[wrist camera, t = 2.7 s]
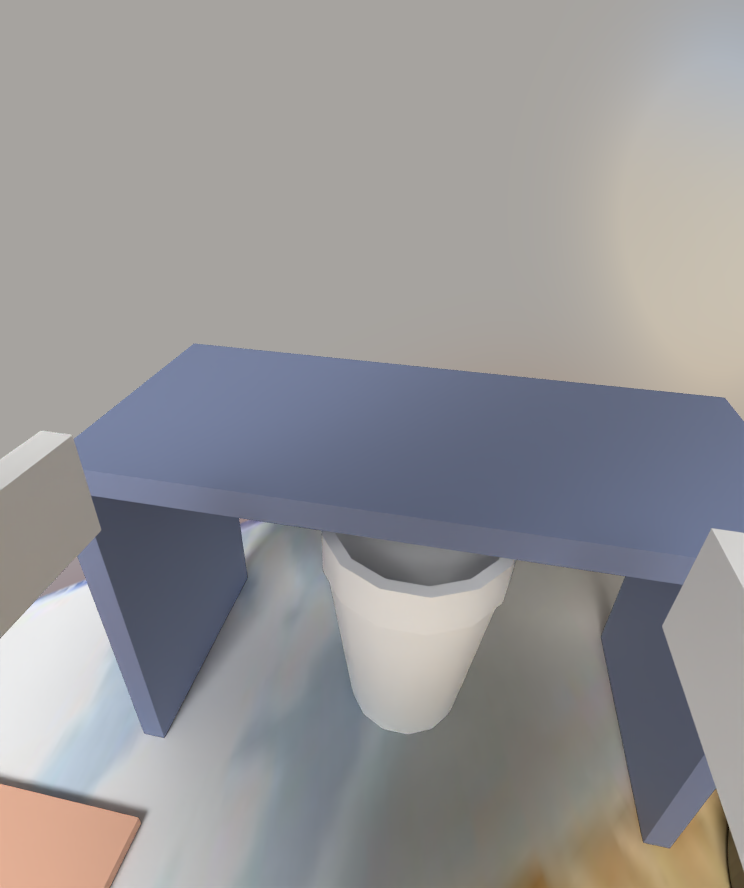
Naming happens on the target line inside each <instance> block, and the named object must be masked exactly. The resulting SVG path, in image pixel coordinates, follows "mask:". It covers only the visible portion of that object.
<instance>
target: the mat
mask: <svg viewBox="0 0 744 888" xmlns="http://www.w3.org/2000/svg"><path fill="white" fill-rule="evenodd" d="M140 825H141V822H140V820H139V818H138V817H134V816H130V815H126V814H122V813H118V812H114V811H110V810H106V809H102V808H97V807H93V806H89V805H85V804H81V803H77V802H73V801H69V800H65V799H61V798H56V797H52V796H48V795H44V794H40V793H36V792H32V791H28V790H24V789H20V788H15V787H11V786H7V785H3V784H0V888H110V886H111V884H112V882H113V880H114V878H115V876H116V874H117V872H118V870H119V868H120V866H121V863H122V861H123V859H124V857H125V855H126V853H127V851H128V849H129V847H130V845H131V843H132V841H133V839H134V837H135V835H136V833H137V831H138V829H139V827H140Z"/></svg>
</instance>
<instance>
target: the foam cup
mask: <svg viewBox="0 0 744 888" xmlns="http://www.w3.org/2000/svg"><path fill="white" fill-rule="evenodd" d="M322 561H323V572H324V574H325V575H326V577H327V579H328V581H329V583H330V587H331V592H332V597H333V602H334V606H335V611H336V616H337V620H338V625H339V630H340V635H341V639H342V644H343V649H344V654H345V658H346V663H347V668H348V672H349V677H350V682H351V687H352V689H353V694H354V696H355V698H356V700H357V702H358V704H359V706H360V708H361V710H362V712H363V714H364V715H365V716H367V717H368V718H369V719H371V720H372V721H373V722H375V723H376V724H377V725H378V726H380V727H381V728H382V729H385V730H390V731H394V732H399V733H403V734H412V733H417V732H421V731H425V730H429V729H432V728H433V727H434V726H436V725H437V724H438V723H439V722H440V721H441V720H442V719H444V718H445V717H446V716H447V715H448V714H449V712H450V709H452V706H453V704H454V702H455V700H456V697H457V695H458V693H459V690H460V688H461V686H462V684H463V681H464V679H465V677H466V675H467V672H468V670H469V668H470V665H471V663H472V661H473V659H474V656H475V654H476V652H477V650H478V647H479V645H480V643H481V640H482V638H483V636H484V634H485V631H486V629H487V627H488V624H489V622H490V620H491V618H492V615H493V613H494V611H495V609H496V608H497V607H498V606H499V605H501V604H502V603H503V601H504V598H505V595H506V592H507V589H508V585H509V582H510V579H511V576H512V573H513V569H514V565H515V561H516V560H514V559H508V558H501V557H494V556H488V555H481V554H475V553H468V552H461V551H455V550H448V549H441V548H435V547H428V546H422V545H415V544H408V543H402V542H395V541H388V540H382V539H375V538H368V537H362V536H355V535H349V534H342V533H335V532H329V531H322Z"/></svg>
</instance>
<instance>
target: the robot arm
mask: <svg viewBox="0 0 744 888" xmlns="http://www.w3.org/2000/svg"><path fill="white" fill-rule="evenodd" d="M100 531H101V527H100V524H99V520H98V517H97V514H96V511H95V507H94V504H93V501H92V498H91V494H90V491H89V488H88V484H87V481H86V478H85V475H84V471H83V468H82V465H81V462H80V458H79V455H78V452H77V448H76V445H75V442H74V439H73V436H72V435H68V434H61V433H54V432H48V431H40V432H39V433H37V434H36V435H34V436H33V437H31V438H30V439H29V440H27V441H26V442H24V443H23V444H21V445H20V446H19V447H17V448H16V449H14V450H13V451H11V452H10V453H9V454H7V455H6V456H4V457H3V458H1V459H0V638H1V637H2V636H3V635H4V634H5V633H6V632H7V631H8V630H9V628H10V627H11V626H12V625H13V624H14V623H15V622H16V621H17V620H18V619H19V618H20V617H21V616H22V615H23V614H24V612H25V611H26V610H27V609H28V608H29V607H30V606H31V605H32V604H33V603H34V602H35V601H36V600H37V599H38V598H39V596H40V595H41V594H42V593H43V592H44V591H45V590H46V589H47V588H48V587H49V586H50V585H51V584H52V583H53V582H54V580H55V579H56V578H57V577H58V576H59V575H60V574H61V573H62V572H63V571H64V570H65V568H67V567H68V565H69V564H70V563H71V562H72V561H73V560H74V559H75V558H76V557H77V556H78V555H79V554H80V553H81V552H82V551H83V549H84V548H85V547H86V546H87V545H88V544H89V543H90V542H91V541H92V540H93V539H94V538H95V537H96V536H97V535H98V533H99V532H100ZM662 628H663V631H664V634H665V637H666V640H667V643H668V646H669V649H670V652H671V655H672V658H673V661H674V664H675V667H676V670H677V673H678V676H679V679H680V681H681V684H682V687H683V690H684V693H685V696H686V699H687V702H688V705H689V708H690V711H691V714H692V717H693V720H694V723H695V726H696V729H697V732H698V735H699V738H700V741H701V744H702V747H703V750H704V753H705V756H706V759H707V762H708V765H709V768H710V771H711V774H712V777H713V780H714V783H715V786H716V789H717V792H718V795H719V798H720V801H721V804H722V807H723V810H724V813H725V816H726V819H727V822H728V825H729V835H728V865H729V872H730V879H731V884H732V888H744V533H741V532H734V531H728V530H721V529H714V528H711V530H710V532H709V534H708V536H707V538H706V540H705V542H704V544H703V546H702V548H701V550H700V552H699V554H698V556H697V558H696V560H695V562H694V564H693V566H692V568H691V570H690V572H689V574H688V576H687V578H686V580H685V582H684V584H683V586H682V588H681V590H680V592H679V594H678V596H677V598H676V600H675V601H674V603H673V605H672V607H671V609H670V611H669V613H668V615H667V617H666V619H665V621H664V623H663V625H662Z"/></svg>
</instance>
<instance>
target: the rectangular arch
mask: <svg viewBox="0 0 744 888" xmlns="http://www.w3.org/2000/svg"><path fill="white" fill-rule="evenodd" d="M74 442H75V445H76V448H77V452H78V455H79V458H80V462H81V465H82V468H83V471H84V475H85V478H86V481H87V484H88V488H89V491H90V494H91V498H92V501H93V504H94V507H95V511H96V514H97V517H98V520H99V524H100V527H101V531H100V532H99V533H98V535H97V536H96V537H95V538H94V539H93V540H92V541H91V542H90V543H89V544H88V545H87V546H86V547H85V548H84V549H83V551H82V552H81V553H80V554H79V555H78V556H77V557H78V559H79V562H80V565H81V567H82V570H83V573H84V575H85V578H86V581H87V583H88V586H89V589H90V591H91V594H92V596H93V599H94V602H95V604H96V607H97V610H98V612H99V615H100V618H101V620H102V623H103V626H104V628H105V631H106V633H107V636H108V639H109V641H110V644H111V647H112V649H113V652H114V655H115V657H116V660H117V663H118V665H119V668H120V671H121V673H122V676H123V678H124V681H125V684H126V686H127V689H128V692H129V694H130V697H131V700H132V702H133V705H134V708H135V710H136V713H137V715H138V718H139V721H140V723H141V726H142V729H143V731H144V733H145V734H149V735H154V736H158V737H163V738H164V737H165V736H166V734H167V732H168V730H169V728H170V726H171V724H172V722H173V720H174V718H175V716H176V714H177V712H178V711H179V709H180V707H181V705H182V703H183V701H184V699H185V697H186V695H187V693H188V691H189V689H190V687H191V685H192V684H193V682H194V680H195V678H196V676H197V674H198V672H199V670H200V668H201V666H202V664H203V662H204V660H205V659H206V657H207V655H208V653H209V651H210V649H211V647H212V645H213V643H214V641H215V639H216V637H217V635H218V633H219V632H220V630H221V628H222V626H223V624H224V622H225V620H226V618H227V616H228V614H229V612H230V610H231V608H232V607H233V605H234V603H235V601H236V599H237V597H238V595H239V593H240V591H241V589H242V587H243V585H244V583H245V581H246V580H247V578H248V577H247V570H246V564H245V557H244V550H243V543H242V536H241V529H240V522H239V518H243V519H249V520H256V521H262V522H269V523H276V524H282V525H289V526H296V527H302V528H309V529H315V530H322V531H329V532H335V533H342V534H349V535H355V536H362V537H368V538H375V539H382V540H388V541H395V542H402V543H408V544H415V545H422V546H428V547H435V548H441V549H448V550H455V551H461V552H468V553H475V554H481V555H488V556H494V557H501V558H508V559H514V560H521V561H528V562H534V563H541V564H548V565H554V566H561V567H567V568H574V569H581V570H587V571H594V572H601V573H607V574H614V575H620V576H625V578H624V581H623V583H622V586H621V588H620V591H619V593H618V596H617V598H616V601H615V603H614V605H613V608H612V610H611V613H610V615H609V618H608V620H607V623H606V625H605V628H604V630H603V633H602V635H601V640H602V644H603V649H604V654H605V659H606V664H607V669H608V674H609V678H610V683H611V688H612V693H613V698H614V703H615V708H616V712H617V717H618V722H619V727H620V732H621V737H622V742H623V746H624V751H625V756H626V761H627V766H628V771H629V776H630V780H631V785H632V790H633V795H634V800H635V805H636V809H637V814H638V819H639V824H640V829H641V834H642V839H643V843H648V844H652V845H657V846H661V847H666V848H670V847H671V846H672V845H673V843H674V842H675V841H676V839H677V838H678V837H679V836H680V834H681V833H682V832H683V830H684V829H685V828H686V826H687V825H688V824H689V823H690V821H691V820H692V819H693V817H694V816H695V815H696V813H697V812H698V811H699V809H700V808H701V807H702V806H703V804H704V803H705V802H706V800H707V799H708V798H709V796H710V795H711V794H712V793H713V791H714V790H715V789H716V786H715V783H714V780H713V777H712V774H711V771H710V768H709V765H708V762H707V759H706V756H705V753H704V750H703V747H702V744H701V741H700V738H699V735H698V732H697V729H696V726H695V723H694V720H693V717H692V714H691V711H690V708H689V705H688V702H687V699H686V696H685V693H684V690H683V687H682V684H681V681H680V679H679V676H678V673H677V670H676V667H675V664H674V661H673V658H672V655H671V652H670V649H669V646H668V643H667V640H666V637H665V634H664V631H663V628H662V625H663V623H664V621H665V619H666V617H667V615H668V613H669V611H670V609H671V607H672V605H673V603H674V601H675V600H676V598H677V596H678V594H679V592H680V590H681V588H682V586H683V584H684V582H685V580H686V578H687V576H688V574H689V572H690V570H691V568H692V566H693V564H694V562H695V560H696V558H697V556H698V554H699V552H700V550H701V548H702V546H703V544H704V542H705V540H706V538H707V536H708V534H709V532H710V530H711V528H714V529H721V530H728V531H734V532H741V533H744V421H743V420H742V419H741V418H740V416H739V415H738V414H737V412H736V411H735V410H734V409H733V407H732V406H731V405H730V404H729V403H728V401H727V400H726V399H725V398H722V397H713V396H703V395H692V394H683V393H674V392H664V391H654V390H644V389H634V388H624V387H614V386H605V385H595V384H584V383H575V382H565V381H556V380H546V379H536V378H526V377H517V376H507V375H497V374H487V373H477V372H467V371H458V370H448V369H438V368H428V367H419V366H409V365H408V366H407V365H399V364H389V363H379V362H370V361H360V360H350V359H340V358H330V357H321V356H311V355H301V354H291V353H281V352H271V351H262V350H252V349H242V348H232V347H222V346H213V345H203V344H193V345H192V346H190V347H189V348H188V349H187V350H185V351H184V352H183V353H182V354H180V355H179V356H178V357H176V358H175V359H174V360H173V361H171V362H170V363H169V364H168V365H166V366H165V367H164V368H163V369H162V370H160V371H159V372H158V373H157V374H155V375H154V376H153V377H151V378H150V379H149V380H147V381H146V382H145V383H144V384H142V386H140V387H139V388H137V389H136V390H135V391H134V392H132V393H131V394H130V395H129V396H127V397H126V398H125V399H124V400H122V401H121V402H120V403H119V404H117V405H116V406H115V407H113V408H112V409H111V410H110V411H108V412H107V413H106V414H105V415H103V416H102V417H101V418H100V419H98V420H97V421H96V422H95V423H93V424H92V425H91V426H90V427H88V428H87V429H86V430H85V431H83V432H82V433H81V434H80V435H78V436H77V437H76V438H74Z"/></svg>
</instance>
